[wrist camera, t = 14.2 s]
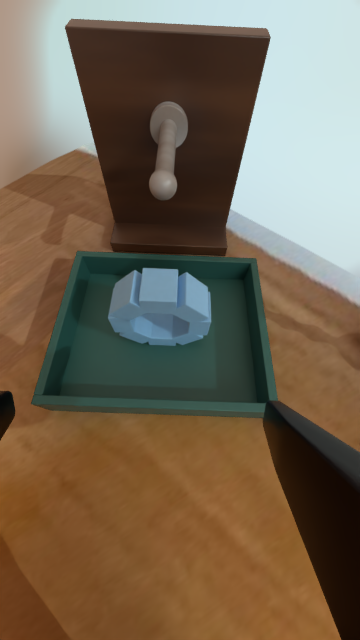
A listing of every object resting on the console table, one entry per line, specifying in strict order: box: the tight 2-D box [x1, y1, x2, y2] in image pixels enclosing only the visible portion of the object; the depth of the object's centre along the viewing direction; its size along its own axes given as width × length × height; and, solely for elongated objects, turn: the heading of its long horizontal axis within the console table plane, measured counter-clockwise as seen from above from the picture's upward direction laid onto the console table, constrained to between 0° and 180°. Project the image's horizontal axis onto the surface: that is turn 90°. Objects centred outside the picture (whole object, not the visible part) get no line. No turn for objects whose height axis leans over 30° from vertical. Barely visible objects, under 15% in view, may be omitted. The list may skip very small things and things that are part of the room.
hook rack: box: [65, 19, 270, 256], centre depth 19 cm, size 11×12×15 cm
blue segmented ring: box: [108, 268, 211, 346], centre depth 18 cm, size 2×7×7 cm, turn 88°
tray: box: [31, 251, 278, 418], centre depth 20 cm, size 13×16×3 cm
